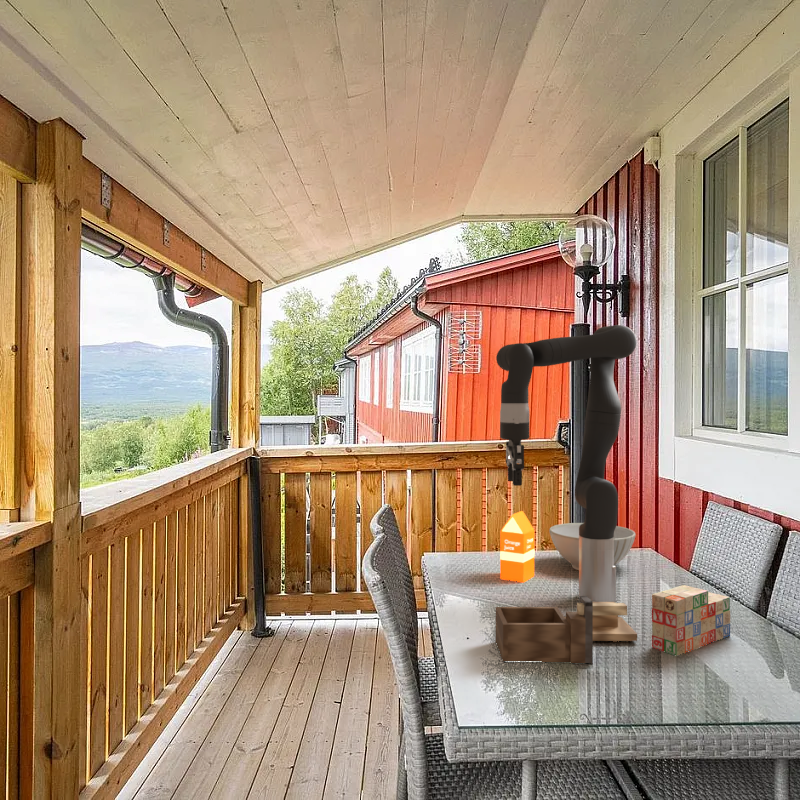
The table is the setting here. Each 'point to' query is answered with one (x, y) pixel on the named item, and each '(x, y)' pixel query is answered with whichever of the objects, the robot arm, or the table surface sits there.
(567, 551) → the decorative bowl
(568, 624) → the brown wooden box
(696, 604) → the stack of blocks
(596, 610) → the light wooden plank
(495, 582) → the table surface
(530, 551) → the orange juice
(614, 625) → the lid
